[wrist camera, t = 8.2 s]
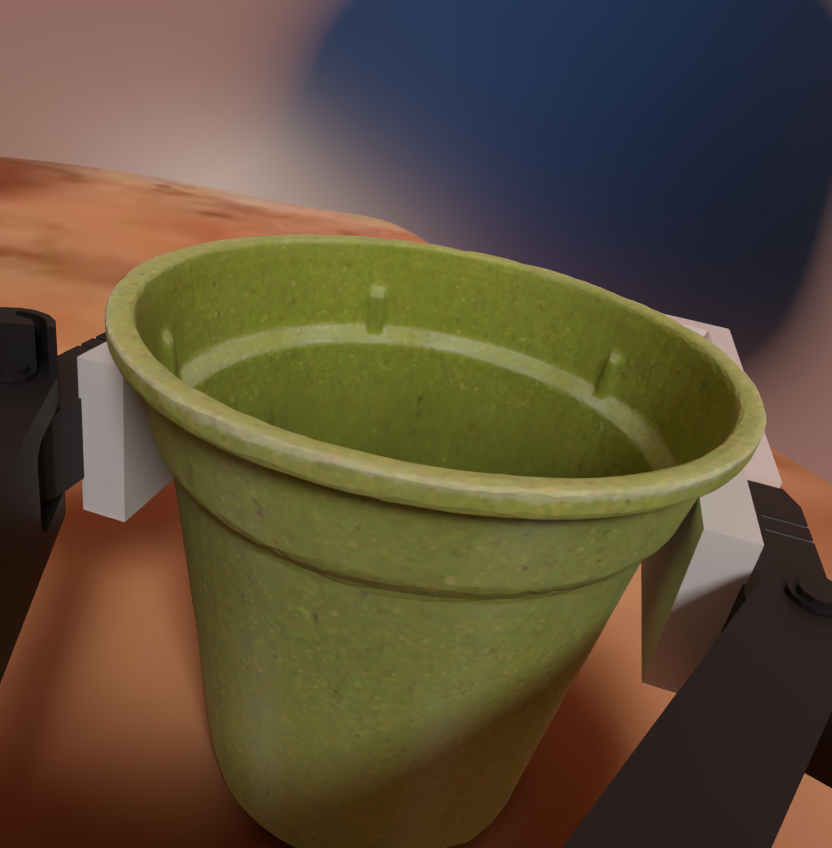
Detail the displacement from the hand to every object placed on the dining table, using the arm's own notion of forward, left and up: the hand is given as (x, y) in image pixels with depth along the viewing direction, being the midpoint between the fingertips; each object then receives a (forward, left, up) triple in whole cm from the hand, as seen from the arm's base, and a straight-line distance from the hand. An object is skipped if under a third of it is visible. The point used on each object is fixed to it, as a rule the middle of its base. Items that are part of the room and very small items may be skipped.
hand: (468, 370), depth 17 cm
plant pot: (+3, -3, -6) cm, 8 cm away
